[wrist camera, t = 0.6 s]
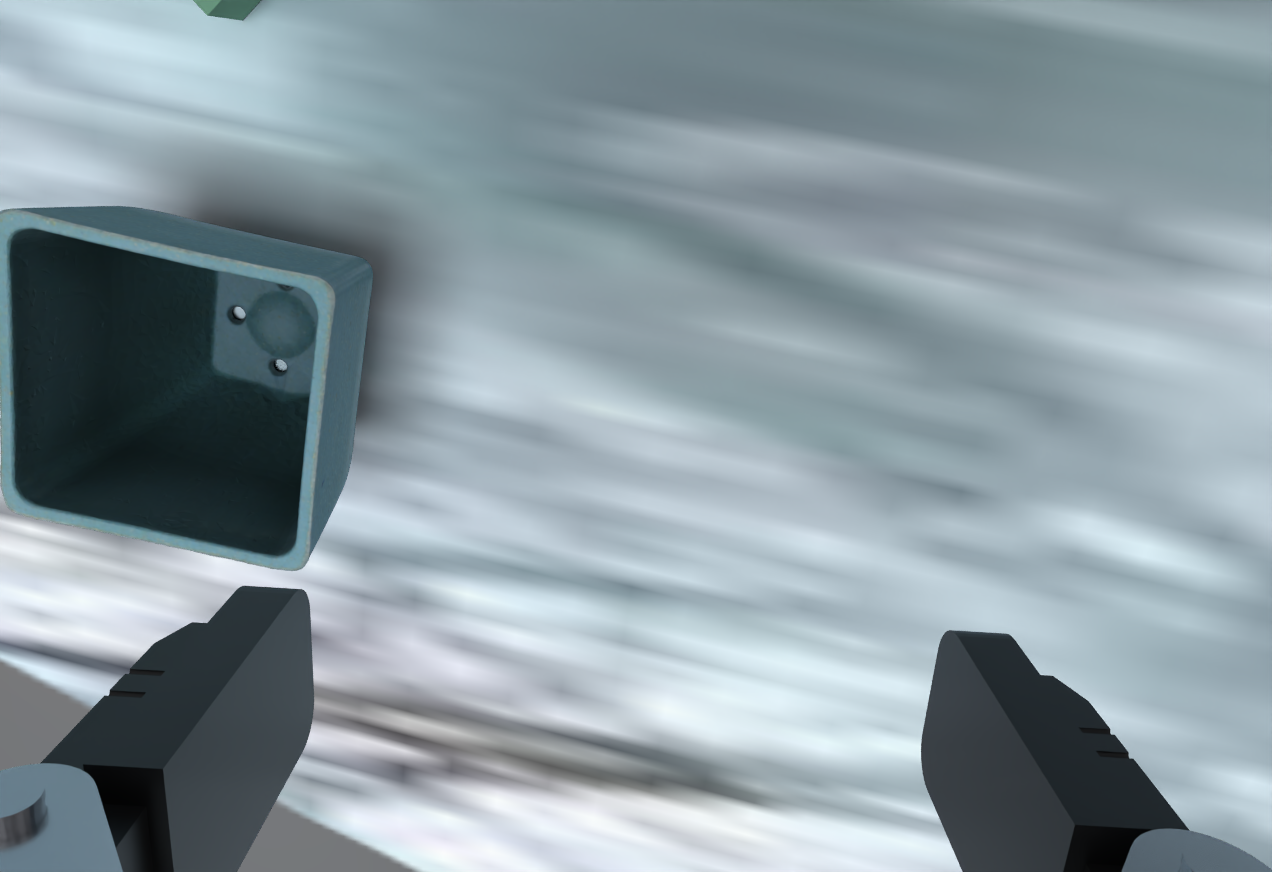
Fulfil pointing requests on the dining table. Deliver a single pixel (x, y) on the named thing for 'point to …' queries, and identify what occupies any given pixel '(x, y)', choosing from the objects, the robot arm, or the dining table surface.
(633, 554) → the dining table surface
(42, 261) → the flower pot
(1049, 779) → the robot arm
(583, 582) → the dining table surface
